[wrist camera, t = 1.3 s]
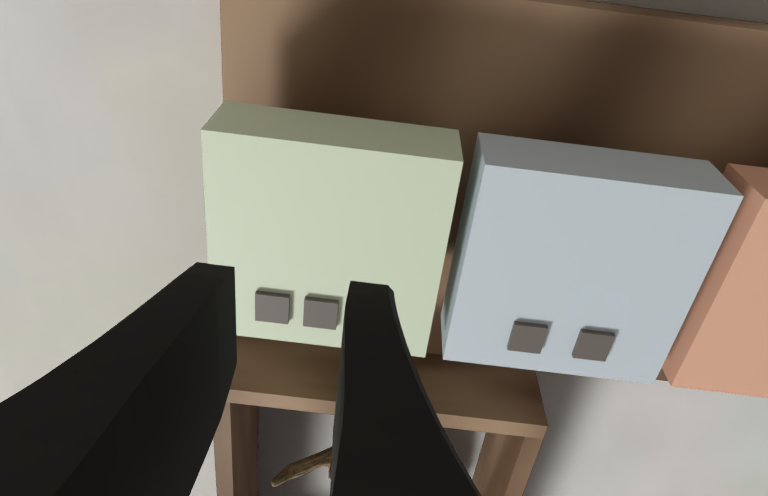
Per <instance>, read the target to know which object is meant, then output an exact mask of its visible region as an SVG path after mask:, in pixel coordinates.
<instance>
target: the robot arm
mask: <svg viewBox="0 0 768 496" xmlns="http://www.w3.org/2000/svg"><path fill="white" fill-rule="evenodd" d="M236 365H237V336H236V298H235V267H232V266H224V265H215V264H207V263H198V262H197V263H195V264H194V265H193V266H191V267H190V268H189V269H187V270H186V271H185V272H183V273H182V274H181V275H179V276H178V277H177V278H176V279H174V280H173V281H172V282H171V283H169V284H168V285H167V286H166V287H164V288H163V289H162V290H161V291H159V292H158V293H157V294H156V295H154V296H153V297H152V298H150V299H149V300H148V301H147V302H145V303H144V304H143V305H142V306H140V307H139V308H138V309H137V310H135V311H134V312H133V313H131V314H130V315H129V316H127V317H126V318H125V319H123V320H122V321H121V322H119V323H118V324H117V325H115V326H114V327H113V328H111V329H110V330H109V331H107V332H106V333H105V334H103V335H102V336H101V337H99V338H98V339H97V340H95V341H94V342H93V343H91V344H90V345H88V346H87V347H85V348H84V349H83V350H81V351H80V352H78V353H77V354H75V355H74V356H72V357H71V358H69V359H68V360H66V361H65V362H64V363H62V364H61V365H59V366H58V367H56V368H55V369H53V370H52V371H50V372H49V373H48V374H46V375H45V376H43V377H42V378H40V379H38V380H37V381H35V382H34V383H32V384H31V385H29V386H27V387H26V388H24V389H22V390H21V391H19V392H18V393H16V394H14V395H13V396H11V397H9V398H8V399H6V400H4V401H3V402H1V403H0V496H189V495H190V493H191V490H192V488H193V485H194V483H195V481H196V478H197V476H198V473H199V471H200V469H201V466H202V464H203V462H204V459H205V457H206V454H207V452H208V450H209V447H210V445H211V442H212V440H213V437H214V435H215V433H216V430H217V428H218V425H219V423H220V420H221V418H222V415H223V411H224V408H225V404H226V401H227V397H228V394H229V390H230V387H231V383H232V379H233V376H234V372H235V368H236ZM330 496H482V495H481V494H480V492H479V491H478V489H477V488H476V486H475V484H474V482H473V481H472V479H471V477H470V476H469V474H468V472H467V471H466V469H465V467H464V466H463V464H462V462H461V460H460V459H459V457H458V455H457V453H456V451H455V450H454V448H453V446H452V444H451V442H450V440H449V438H448V436H447V435H446V433H445V431H444V429H443V427H442V425H441V423H440V421H439V419H438V417H437V414H436V412H435V410H434V408H433V406H432V404H431V402H430V400H429V398H428V395H427V393H426V391H425V389H424V386H423V384H422V382H421V379H420V377H419V374H418V372H417V369H416V367H415V364H414V362H413V359H412V357H411V354H410V351H409V348H408V346H407V343H406V340H405V337H404V334H403V330H402V327H401V324H400V320H399V317H398V313H397V308H396V303H395V297H394V291H393V290H392V289H391V288H390V287H389V285H383V284H375V283H367V282H358V281H350V285H349V289H348V294H347V299H346V304H345V312H344V322H343V333H342V343H341V353H340V364H339V374H338V385H337V395H336V406H335V416H334V427H333V444H332V466H331V487H330Z"/></svg>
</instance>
